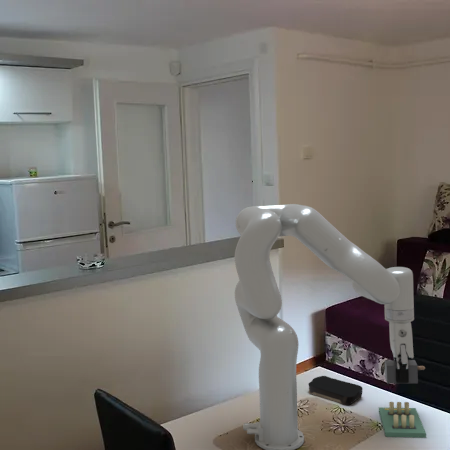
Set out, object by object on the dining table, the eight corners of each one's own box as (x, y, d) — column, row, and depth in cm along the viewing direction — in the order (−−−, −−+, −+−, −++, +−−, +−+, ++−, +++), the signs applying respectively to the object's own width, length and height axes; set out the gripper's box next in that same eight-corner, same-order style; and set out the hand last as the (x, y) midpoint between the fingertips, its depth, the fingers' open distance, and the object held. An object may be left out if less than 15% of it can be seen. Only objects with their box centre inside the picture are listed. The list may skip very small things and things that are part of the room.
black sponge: (366, 398, 178) (365, 387, 177) (349, 408, 172) (349, 395, 171) (321, 385, 189) (320, 374, 189) (304, 393, 183) (304, 382, 183)
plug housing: (387, 383, 161) (386, 365, 160) (385, 377, 165) (384, 360, 164) (426, 383, 160) (426, 365, 159) (423, 377, 164) (423, 359, 163)
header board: (385, 436, 153) (385, 420, 153) (378, 411, 168) (378, 396, 168) (426, 437, 152) (426, 421, 152) (415, 412, 167) (415, 397, 166)
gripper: (419, 322, 151) (421, 391, 154) (408, 304, 168) (410, 367, 170) (389, 323, 152) (391, 391, 155) (380, 305, 169) (383, 367, 171)
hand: (401, 378), depth 162 cm, fingers closed on plug housing, 4 cm apart
